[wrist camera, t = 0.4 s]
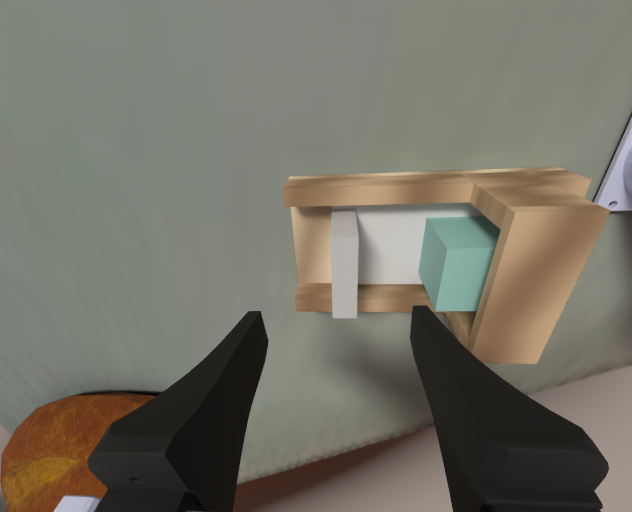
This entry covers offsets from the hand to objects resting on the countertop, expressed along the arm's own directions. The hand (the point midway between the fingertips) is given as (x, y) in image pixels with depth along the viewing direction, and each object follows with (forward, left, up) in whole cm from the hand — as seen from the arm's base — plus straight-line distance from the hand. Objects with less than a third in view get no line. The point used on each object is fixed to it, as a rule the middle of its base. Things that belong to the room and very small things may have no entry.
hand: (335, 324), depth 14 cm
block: (-8, +1, -9) cm, 12 cm away
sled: (-6, +1, -9) cm, 11 cm away
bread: (+32, +31, -11) cm, 46 cm away
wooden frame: (-6, +1, -10) cm, 12 cm away
